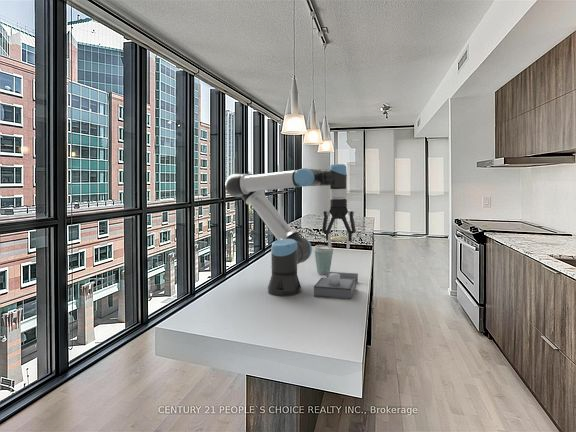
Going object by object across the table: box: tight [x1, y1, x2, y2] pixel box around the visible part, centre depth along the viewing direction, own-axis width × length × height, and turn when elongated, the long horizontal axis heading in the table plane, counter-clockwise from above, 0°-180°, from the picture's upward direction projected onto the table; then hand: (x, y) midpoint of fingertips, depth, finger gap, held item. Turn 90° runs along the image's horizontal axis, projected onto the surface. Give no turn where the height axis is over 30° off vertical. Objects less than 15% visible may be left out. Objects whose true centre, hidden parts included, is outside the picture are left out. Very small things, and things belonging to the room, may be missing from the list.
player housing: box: [313, 273, 356, 300], centre depth 175 cm, size 16×16×9 cm
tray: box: [326, 271, 359, 284], centre depth 188 cm, size 16×16×4 cm
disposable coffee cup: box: [313, 244, 334, 275], centre depth 212 cm, size 11×11×15 cm
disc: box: [330, 235, 347, 243], centre depth 178 cm, size 8×8×2 cm
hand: (338, 248), depth 179 cm, fingers closed on disc, 8 cm apart
